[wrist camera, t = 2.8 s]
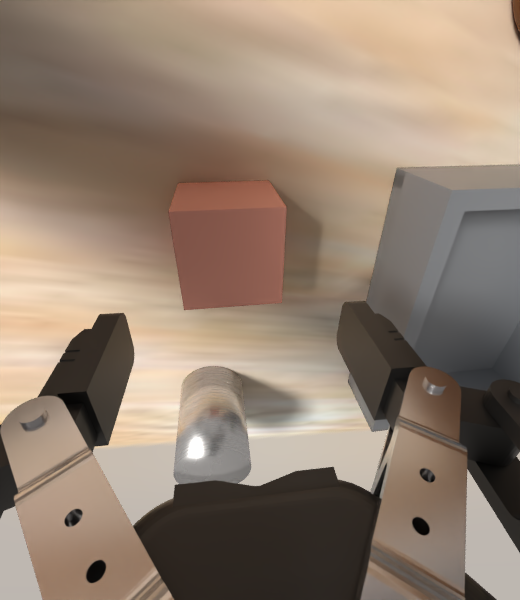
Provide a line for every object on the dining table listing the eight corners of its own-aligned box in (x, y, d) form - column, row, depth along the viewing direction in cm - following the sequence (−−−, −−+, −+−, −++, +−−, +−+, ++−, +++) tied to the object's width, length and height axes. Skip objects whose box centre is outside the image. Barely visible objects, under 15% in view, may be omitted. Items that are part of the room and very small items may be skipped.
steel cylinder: (177, 369, 25) (167, 454, 19) (241, 363, 25) (250, 444, 19) (185, 410, 27) (179, 495, 22) (242, 403, 28) (251, 485, 22)
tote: (396, 167, 18) (452, 190, 14) (606, 162, 20) (711, 180, 16) (347, 381, 28) (371, 431, 24) (489, 366, 30) (535, 411, 26)
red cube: (178, 182, 17) (168, 211, 13) (268, 180, 18) (286, 207, 14) (189, 264, 20) (184, 310, 16) (267, 260, 20) (281, 302, 16)
